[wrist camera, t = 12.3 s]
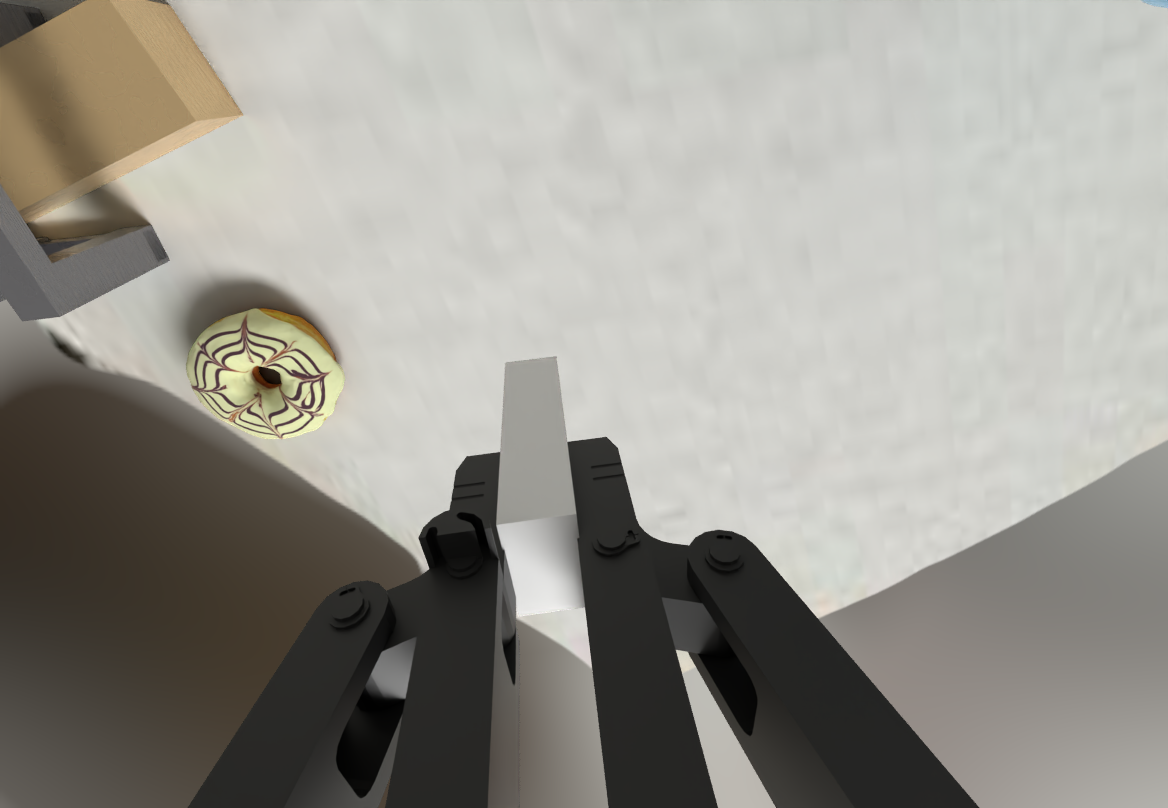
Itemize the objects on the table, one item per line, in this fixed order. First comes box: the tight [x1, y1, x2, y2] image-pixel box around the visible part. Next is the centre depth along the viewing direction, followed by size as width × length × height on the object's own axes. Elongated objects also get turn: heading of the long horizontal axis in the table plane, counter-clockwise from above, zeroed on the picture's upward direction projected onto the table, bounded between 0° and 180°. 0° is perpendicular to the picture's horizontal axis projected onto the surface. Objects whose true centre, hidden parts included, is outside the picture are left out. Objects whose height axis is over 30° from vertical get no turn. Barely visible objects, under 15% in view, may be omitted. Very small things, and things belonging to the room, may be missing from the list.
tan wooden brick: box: [0, 0, 243, 224], centre depth 30 cm, size 20×6×6 cm, turn 111°
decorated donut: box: [186, 308, 345, 439], centre depth 41 cm, size 10×11×4 cm
